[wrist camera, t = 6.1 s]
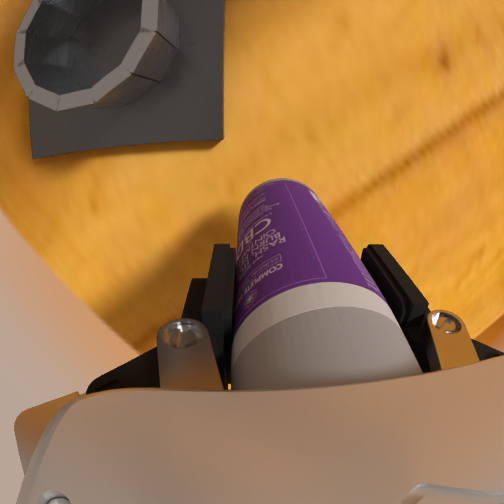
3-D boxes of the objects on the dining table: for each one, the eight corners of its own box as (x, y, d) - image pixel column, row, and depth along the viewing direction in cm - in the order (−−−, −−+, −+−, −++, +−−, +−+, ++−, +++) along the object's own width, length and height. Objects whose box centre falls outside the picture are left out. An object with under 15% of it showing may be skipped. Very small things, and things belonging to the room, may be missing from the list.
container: (248, 169, 16) (254, 488, 3) (333, 188, 17) (515, 441, 3) (231, 249, 18) (211, 542, 5) (310, 263, 19) (388, 528, 5)
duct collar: (226, -50, 13) (221, -95, 8) (224, 138, 19) (216, 149, 14) (44, -10, 13) (-1, -29, 7) (39, 156, 19) (-11, 175, 13)
